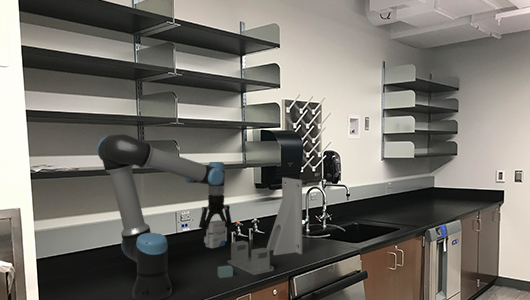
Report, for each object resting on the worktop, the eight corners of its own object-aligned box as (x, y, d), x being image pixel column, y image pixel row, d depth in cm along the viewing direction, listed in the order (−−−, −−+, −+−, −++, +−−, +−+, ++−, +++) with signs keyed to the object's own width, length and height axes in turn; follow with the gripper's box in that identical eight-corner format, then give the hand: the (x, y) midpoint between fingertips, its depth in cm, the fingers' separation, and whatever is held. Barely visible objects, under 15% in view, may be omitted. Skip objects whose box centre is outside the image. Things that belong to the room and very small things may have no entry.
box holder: (254, 275, 190) (254, 253, 190) (227, 262, 209) (227, 242, 209) (273, 270, 196) (273, 249, 196) (245, 259, 216) (245, 239, 215)
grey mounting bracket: (261, 248, 236) (261, 178, 236) (283, 245, 243) (283, 177, 242) (278, 257, 219) (278, 181, 218) (302, 254, 225) (302, 180, 224)
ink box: (218, 243, 203) (218, 219, 203) (225, 245, 200) (225, 220, 200) (205, 246, 196) (205, 221, 196) (212, 248, 193) (212, 223, 193)
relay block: (219, 278, 186) (219, 269, 186) (217, 275, 190) (217, 266, 190) (232, 276, 188) (232, 267, 188) (230, 274, 192) (230, 265, 192)
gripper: (199, 196, 188) (198, 246, 189) (240, 194, 201) (239, 240, 201) (191, 194, 195) (190, 242, 195) (231, 192, 207) (231, 237, 208)
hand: (215, 241), depth 198 cm, fingers closed on ink box, 9 cm apart
